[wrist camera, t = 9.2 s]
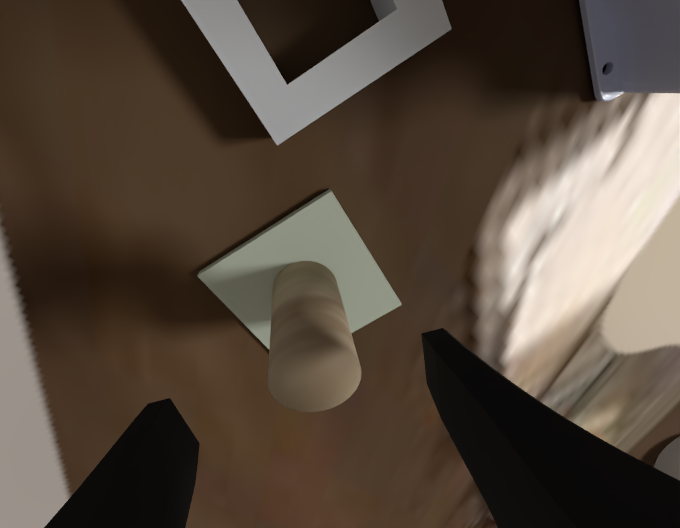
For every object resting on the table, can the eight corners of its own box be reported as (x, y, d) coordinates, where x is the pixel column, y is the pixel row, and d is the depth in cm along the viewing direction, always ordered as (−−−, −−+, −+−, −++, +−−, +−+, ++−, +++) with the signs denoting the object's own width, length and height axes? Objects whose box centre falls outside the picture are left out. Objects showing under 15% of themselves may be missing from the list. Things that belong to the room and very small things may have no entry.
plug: (347, 272, 18) (377, 355, 13) (322, 322, 20) (338, 418, 14) (286, 252, 17) (287, 332, 12) (263, 306, 19) (254, 403, 13)
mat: (399, 299, 20) (401, 304, 20) (287, 363, 21) (287, 369, 21) (329, 188, 17) (331, 191, 16) (199, 271, 18) (197, 276, 17)
